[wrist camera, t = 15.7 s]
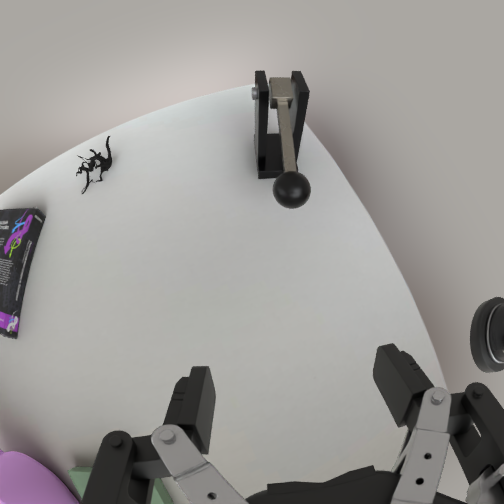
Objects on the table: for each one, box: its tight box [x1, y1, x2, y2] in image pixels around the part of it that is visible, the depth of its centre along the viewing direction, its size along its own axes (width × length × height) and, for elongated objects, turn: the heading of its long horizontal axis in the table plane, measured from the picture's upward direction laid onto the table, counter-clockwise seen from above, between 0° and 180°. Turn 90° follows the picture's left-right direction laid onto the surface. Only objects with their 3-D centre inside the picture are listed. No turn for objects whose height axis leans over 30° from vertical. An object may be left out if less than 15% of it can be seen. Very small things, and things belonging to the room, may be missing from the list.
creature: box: [76, 136, 112, 194], centre depth 33 cm, size 8×5×8 cm
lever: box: [268, 78, 311, 209], centre depth 25 cm, size 14×4×4 cm, turn 4°
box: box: [0, 207, 45, 339], centre depth 27 cm, size 14×4×20 cm
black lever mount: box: [252, 71, 310, 179], centre depth 29 cm, size 7×6×13 cm
